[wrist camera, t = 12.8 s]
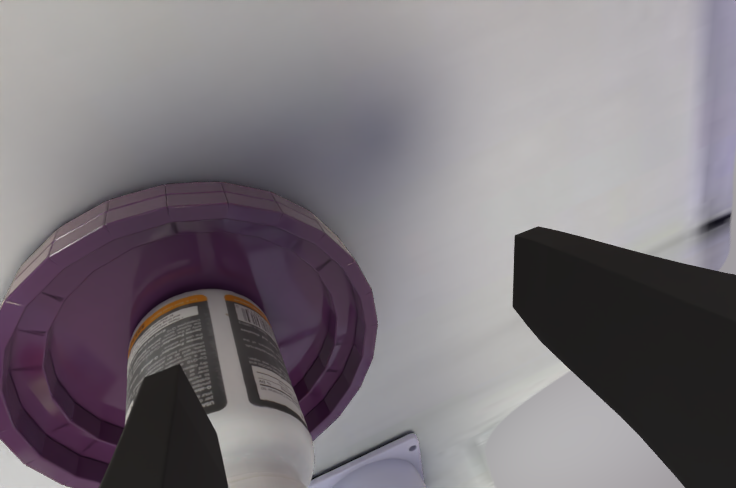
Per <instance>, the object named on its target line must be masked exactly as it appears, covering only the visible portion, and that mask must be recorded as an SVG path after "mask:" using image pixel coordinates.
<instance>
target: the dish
mask: <svg viewBox="0 0 736 488" xmlns="http://www.w3.org/2000/svg"><path fill="white" fill-rule="evenodd" d="M199 289H221V290H227V291H232V292H234V293H236V294H239V295H242V296H244V297H246V298H248V299H250V300H251V301H252V302H254V303H255V304H256V305H257V306H258V307H259V308H260V309H261V310H262V311H263V312H264V314H265V316H266V317H267V319H268V321H269V323H270V326H271V328H272V330H273V333H274V336H275V339H276V341H277V344H278V347H279V350H280V353H281V355H282V358H283V361H284V364H285V367H286V370H287V373H288V375H289V378H290V380H291V384H292V387H293V389H294V392H295V394H296V397H297V400H298V403H299V406H300V409H301V411H302V414H303V416H304V419H305V422H306V425H307V428H308V430H309V432H310V434H311V437H312V441H314V440H315V439H316V438H317V437H318V436H319V435H320V434H321V433H322V432H323V431H325V430H326V429H327V428H328V427H329V426H330V425H331V424H332V423H333V422H334V421H335V420H336V419H337V418H338V417H339V416H340V415H341V413H342V412H343V411H344V409H345V408H346V407H347V405H348V404H349V402H350V401H351V400H352V398H353V397H354V396H355V394H356V393H357V391H358V390H359V388H360V387H361V385H362V383H363V380H364V378H365V376H366V373H367V371H368V369H369V366H370V364H371V362H372V359H373V356H374V349H375V342H376V334H377V327H378V324H377V323H378V321H377V315H376V309H375V304H374V298H373V292H372V289H371V287H370V285H369V284H368V282H367V280H366V278H365V276H364V275H363V273H362V271H361V269H360V267H359V266H358V264H357V262H356V260H355V259H354V258H353V256H352V255H351V254H350V252H349V251H348V249H347V248H346V247H345V245H344V244H343V243H342V241H341V240H340V239H339V237H338V236H337V235H336V234H335V233H334V232H332V231H331V230H330V229H329V228H328V227H327V226H326V225H325V224H324V223H323V222H322V221H321V220H319V219H318V218H317V217H316V216H315V215H314V214H313V213H312V212H310V211H309V210H307V209H305V208H303V207H301V206H299V205H297V204H295V203H293V202H291V201H289V200H287V199H285V198H283V197H281V196H279V195H277V194H275V193H273V192H269V191H265V190H261V189H256V188H251V187H246V186H241V185H236V184H231V183H226V182H195V183H170V184H166V185H159V186H156V187H152V188H149V189H145V190H142V191H138V192H134V193H131V194H127V195H124V196H120V197H116V198H113V199H111V200H110V201H109V200H107V201H105V202H103V203H101V204H100V205H98V206H96V207H94V208H93V209H91V210H89V211H87V212H86V213H84V214H82V215H80V216H79V217H77V218H75V219H73V220H71V221H70V222H68V223H66V224H64V225H63V226H61V227H60V228H59V229H58V230H56V231H55V232H54V233H53V234H52V235H51V236H50V237H49V238H48V239H47V240H46V241H45V242H44V243H43V244H42V245H41V246H40V247H39V248H38V249H37V250H36V251H35V252H34V253H33V254H32V255H31V256H30V257H29V258H28V259H27V260H26V261H25V262H24V263H23V264H22V265H21V267H20V268H19V269H18V271H17V274H16V276H15V278H14V280H13V282H12V284H11V286H10V288H9V290H8V292H7V294H6V296H5V298H4V300H3V302H2V304H1V306H0V439H1V441H2V442H3V443H4V444H5V445H6V446H7V447H8V448H9V449H10V450H11V451H12V452H13V453H14V454H15V455H16V456H17V457H18V458H19V459H20V460H21V462H22V463H23V464H26V466H28V467H30V468H32V469H34V470H36V471H37V472H39V473H41V474H43V475H45V476H47V477H49V478H50V479H52V480H54V481H56V482H58V483H60V484H61V485H65V486H67V487H71V488H99V486H100V484H101V481H102V479H103V477H104V474H105V472H106V470H107V468H108V465H109V463H110V461H111V458H112V456H113V454H114V451H115V449H116V446H117V444H118V441H119V439H120V436H121V434H122V432H123V429H124V426H125V416H126V396H127V365H128V352H129V345H130V341H131V338H132V335H133V332H134V330H135V329H136V327H137V326H138V324H139V323H140V322H141V320H142V319H143V318H144V317H145V316H146V315H147V314H148V313H149V312H150V311H151V310H152V309H153V308H154V307H156V306H157V305H159V304H160V303H162V302H164V301H166V300H167V299H169V298H171V297H174V296H176V295H179V294H182V293H185V292H190V291H195V290H199Z"/></svg>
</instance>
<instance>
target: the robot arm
mask: <svg viewBox="0 0 736 488" xmlns="http://www.w3.org/2000/svg"><path fill="white" fill-rule="evenodd" d="M513 308H514V309H515V310H516V312H517V313H518V314H519V315H520V317H521V318H522V319H523V320H524V322H525V323H526V324H527V326H528V327H529V328H530V329H531V330H532V332H533V333H534V334H535V335H536V336H537V337H538V339H539V340H540V341H541V342H542V343H543V344H544V345H545V346H546V347H547V348H548V349H549V350H550V351H551V352H552V353H553V354H554V355H555V356H556V357H557V358H559V359H560V360H561V361H562V362H563V363H564V364H565V365H566V366H567V367H568V368H569V369H570V370H571V371H572V372H573V373H574V374H576V375H577V376H578V377H579V378H580V379H581V380H582V381H583V382H584V383H585V384H586V385H587V386H589V387H590V388H591V389H592V390H593V391H594V392H595V393H596V394H597V395H598V396H599V397H600V398H601V399H602V400H603V401H604V402H606V403H607V404H608V405H609V406H610V407H611V408H612V409H613V410H615V412H616V413H618V415H620V416H621V417H622V418H623V419H624V420H625V421H626V422H627V423H628V424H629V426H630V427H631V428H633V430H635V432H637V434H639V436H640V437H641V438H642V439H643V440H644V441H645V442H646V443H647V445H648V446H649V447H650V448H651V449H652V450H653V451H654V452H655V454H656V455H657V456H658V457H659V458H660V459H661V460H662V461H663V463H664V464H665V465H666V466H667V467H668V468H669V469H670V470H671V472H672V473H673V474H674V475H675V476H676V477H677V478H678V480H679V481H680V482H681V483H682V484H683V486H684V487H685V488H736V275H734V274H728V273H723V272H719V271H714V270H710V269H705V268H701V267H696V266H692V265H688V264H683V263H679V262H675V261H671V260H667V259H663V258H659V257H655V256H651V255H647V254H643V253H639V252H636V251H632V250H628V249H624V248H621V247H617V246H613V245H610V244H606V243H602V242H599V241H595V240H591V239H588V238H584V237H580V236H576V235H572V234H569V233H565V232H561V231H556V230H552V229H547V228H542V227H536V228H533V229H530V230H528V231H525V232H523V233H520V234H517V235H515V246H514V281H513ZM99 488H228V482H227V478H226V473H225V468H224V463H223V458H222V454H221V449H220V445H219V440H218V436H217V432H216V431H215V429H214V427H213V425H212V423H211V421H210V419H209V418H208V416H207V414H206V412H205V410H204V408H203V406H202V404H201V403H200V401H199V399H198V397H197V395H196V393H195V391H194V390H193V388H192V386H191V384H190V382H189V380H188V378H187V376H186V375H185V373H184V371H183V369H182V367H181V365H180V364H178V365H175V366H173V367H170V368H167V369H165V370H162V371H159V372H157V373H154V374H152V375H149V376H146V377H145V378H144V379H143V381H142V383H141V385H140V387H139V390H138V393H137V395H136V398H135V401H134V403H133V406H132V408H131V411H130V414H129V416H128V419H127V421H126V424H125V426H124V429H123V432H122V434H121V436H120V439H119V441H118V444H117V446H116V449H115V451H114V454H113V456H112V458H111V461H110V463H109V465H108V468H107V470H106V472H105V474H104V477H103V479H102V481H101V484H100V486H99ZM308 488H426V486H425V484H424V476H423V469H422V462H421V454H420V447H419V440H418V438H417V436H416V434H413V433H411V434H408V435H406V436H404V437H402V438H399V439H397V440H395V441H393V442H391V443H389V444H387V445H385V446H383V447H380V448H378V449H376V450H374V451H372V452H370V453H368V454H366V455H364V456H361V457H359V458H357V459H355V460H353V461H351V462H349V463H347V464H345V465H342V466H340V467H338V468H336V469H334V470H332V471H330V472H328V473H326V474H323V475H321V476H319V477H317V478H315V479H313V480H311V482H310V484H309V487H308Z"/></svg>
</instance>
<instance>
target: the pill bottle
mask: <svg viewBox="0 0 736 488" xmlns="http://www.w3.org/2000/svg"><path fill="white" fill-rule="evenodd" d="M178 364H180V365H181V367H182V369H183V371H184V373H185V375H186V376H187V378H188V380H189V382H190V384H191V386H192V388H193V390H194V391H195V393H196V395H197V397H198V399H199V401H200V403H201V404H202V406H203V408H204V410H205V412H206V414H207V416H208V418H209V419H210V421H211V423H212V425H213V427H214V429H215V431H216V432H217V436H218V440H219V445H220V449H221V454H222V458H223V463H224V468H225V473H226V478H227V482H228V488H308V487H309V484H310V482H311V479H312V475H313V471H314V460H315V455H314V447H313V441H312V437H311V434H310V432H309V430H308V428H307V425H306V422H305V419H304V416H303V414H302V411H301V409H300V406H299V403H298V400H297V397H296V394H295V392H294V389H293V387H292V384H291V380H290V378H289V375H288V373H287V370H286V367H285V364H284V361H283V358H282V355H281V353H280V350H279V347H278V344H277V341H276V339H275V336H274V333H273V330H272V328H271V326H270V323H269V321H268V319H267V317H266V316H265V314H264V312H263V311H262V310H261V309H260V308H259V307H258V306H257V305H256V304H255V303H254V302H252V301H251V300H250V299H248V298H246V297H244V296H242V295H239V294H236V293H234V292H232V291H227V290H221V289H199V290H195V291H190V292H185V293H182V294H179V295H176V296H174V297H171V298H169V299H167V300H166V301H164V302H162V303H160V304H159V305H157V306H156V307H154V308H153V309H152V310H151V311H150V312H149V313H148V314H147V315H146V316H145V317H144V318H143V319H142V320H141V322H140V323H139V324H138V326H137V327H136V329H135V330H134V332H133V335H132V338H131V341H130V345H129V352H128V365H127V396H126V416H125V424H126V421H127V419H128V416H129V414H130V411H131V408H132V406H133V403H134V401H135V398H136V395H137V393H138V390H139V387H140V385H141V383H142V381H143V379H144V378H145V377H146V376H149V375H152V374H154V373H157V372H159V371H162V370H165V369H167V368H170V367H173V366H175V365H178Z"/></svg>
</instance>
